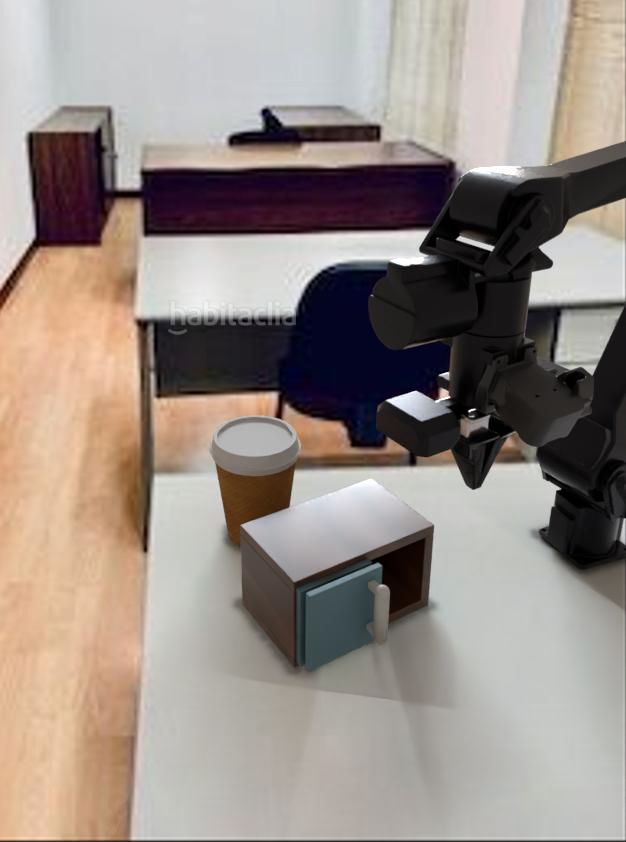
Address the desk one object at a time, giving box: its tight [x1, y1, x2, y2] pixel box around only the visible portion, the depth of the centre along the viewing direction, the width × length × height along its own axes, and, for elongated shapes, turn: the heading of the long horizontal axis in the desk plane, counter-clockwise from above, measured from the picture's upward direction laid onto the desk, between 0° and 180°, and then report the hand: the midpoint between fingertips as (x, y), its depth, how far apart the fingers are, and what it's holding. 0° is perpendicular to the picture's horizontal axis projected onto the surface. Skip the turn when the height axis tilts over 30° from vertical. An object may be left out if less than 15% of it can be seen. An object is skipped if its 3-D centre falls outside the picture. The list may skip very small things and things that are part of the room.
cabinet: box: [240, 478, 435, 669], centre depth 70 cm, size 15×10×9 cm, turn 119°
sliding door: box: [304, 563, 390, 673], centre depth 63 cm, size 7×3×8 cm, turn 119°
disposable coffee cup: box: [208, 414, 302, 548], centre depth 80 cm, size 10×10×12 cm
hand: (472, 486), depth 68 cm, fingers closed
